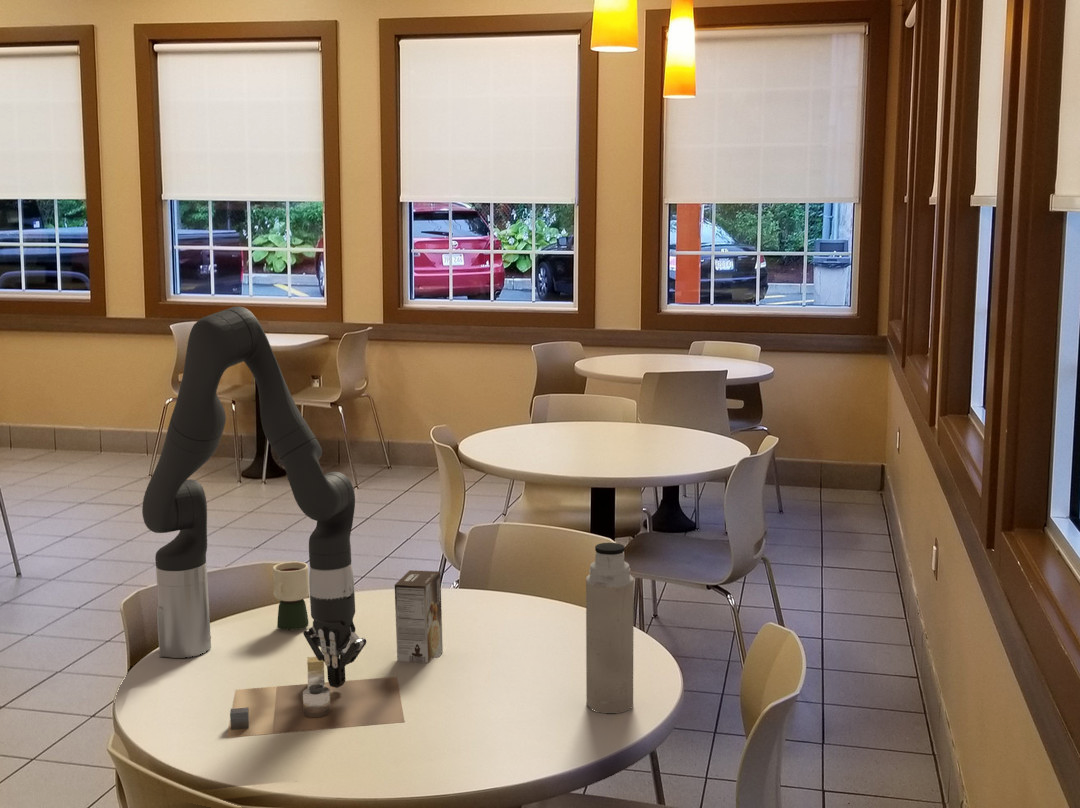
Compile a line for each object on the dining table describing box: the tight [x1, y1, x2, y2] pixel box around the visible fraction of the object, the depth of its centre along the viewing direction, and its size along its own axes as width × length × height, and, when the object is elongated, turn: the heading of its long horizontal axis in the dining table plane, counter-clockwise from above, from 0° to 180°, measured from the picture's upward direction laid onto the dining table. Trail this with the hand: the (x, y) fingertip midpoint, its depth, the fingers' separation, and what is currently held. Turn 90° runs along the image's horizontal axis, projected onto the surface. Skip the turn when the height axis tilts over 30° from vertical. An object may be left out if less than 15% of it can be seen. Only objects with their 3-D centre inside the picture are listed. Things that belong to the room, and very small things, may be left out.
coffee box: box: [394, 569, 444, 664], centre depth 215 cm, size 9×6×16 cm
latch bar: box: [303, 656, 331, 717], centre depth 195 cm, size 15×4×5 cm, turn 11°
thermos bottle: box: [585, 542, 635, 714], centre depth 194 cm, size 8×8×28 cm
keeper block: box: [229, 707, 250, 730], centre depth 185 cm, size 3×2×3 cm, turn 101°
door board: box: [226, 676, 405, 739], centre depth 194 cm, size 28×19×1 cm
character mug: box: [272, 561, 310, 631], centre depth 233 cm, size 11×7×13 cm, turn 162°
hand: (337, 685), depth 199 cm, fingers closed
